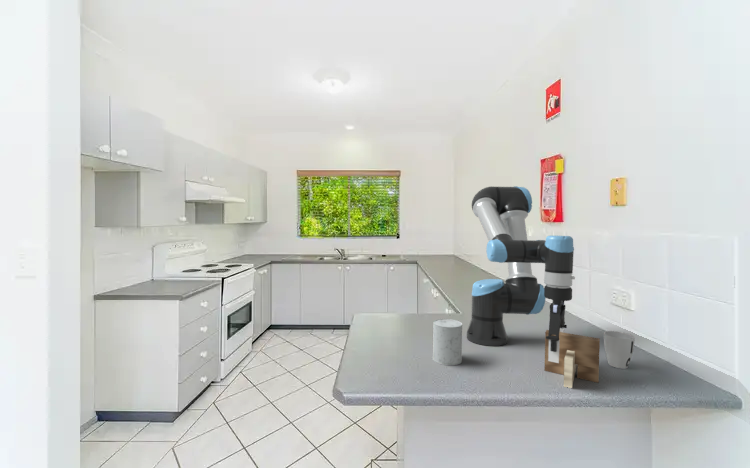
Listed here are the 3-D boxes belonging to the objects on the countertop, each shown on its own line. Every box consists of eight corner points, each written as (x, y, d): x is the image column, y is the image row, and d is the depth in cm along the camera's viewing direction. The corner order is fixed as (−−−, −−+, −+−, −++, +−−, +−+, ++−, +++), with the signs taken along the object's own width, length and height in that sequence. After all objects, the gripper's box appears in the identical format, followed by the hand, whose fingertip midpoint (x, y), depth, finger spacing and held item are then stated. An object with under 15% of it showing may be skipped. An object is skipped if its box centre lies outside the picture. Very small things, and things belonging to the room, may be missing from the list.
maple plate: (571, 388, 94) (572, 359, 93) (563, 386, 95) (564, 358, 94) (576, 364, 110) (577, 340, 110) (569, 362, 111) (570, 338, 111)
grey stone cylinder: (462, 356, 116) (463, 320, 116) (460, 367, 107) (461, 328, 106) (434, 352, 119) (435, 317, 119) (430, 362, 110) (430, 325, 110)
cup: (635, 373, 104) (636, 340, 104) (603, 366, 108) (604, 335, 108) (632, 364, 111) (633, 333, 111) (602, 358, 115) (603, 329, 115)
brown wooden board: (544, 370, 105) (545, 332, 105) (545, 367, 108) (546, 329, 107) (598, 382, 97) (599, 341, 97) (598, 378, 100) (599, 338, 99)
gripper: (568, 294, 91) (566, 371, 92) (575, 281, 112) (573, 345, 113) (538, 290, 96) (536, 365, 96) (549, 279, 116) (548, 340, 117)
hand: (556, 354), depth 104 cm, fingers open, 13 cm apart
